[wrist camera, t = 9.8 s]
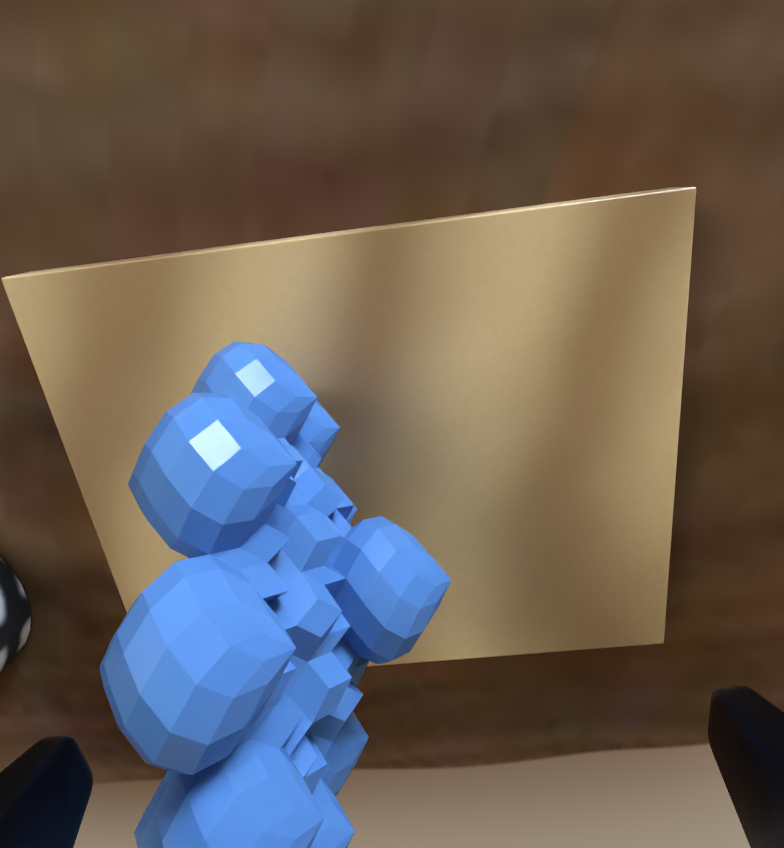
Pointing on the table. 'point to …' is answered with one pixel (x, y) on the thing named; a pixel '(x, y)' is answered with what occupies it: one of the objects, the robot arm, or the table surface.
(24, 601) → the spotted tube
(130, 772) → the table surface
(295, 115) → the table surface
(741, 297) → the table surface
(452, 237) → the board
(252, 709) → the grapes
